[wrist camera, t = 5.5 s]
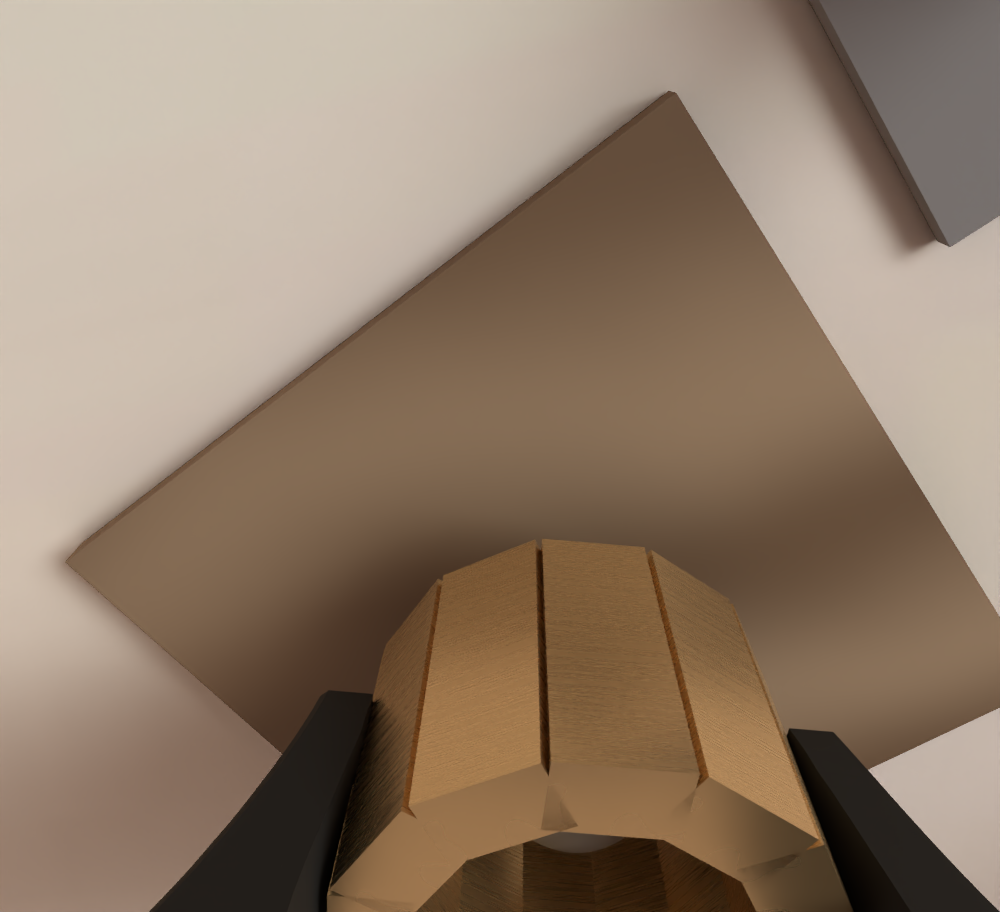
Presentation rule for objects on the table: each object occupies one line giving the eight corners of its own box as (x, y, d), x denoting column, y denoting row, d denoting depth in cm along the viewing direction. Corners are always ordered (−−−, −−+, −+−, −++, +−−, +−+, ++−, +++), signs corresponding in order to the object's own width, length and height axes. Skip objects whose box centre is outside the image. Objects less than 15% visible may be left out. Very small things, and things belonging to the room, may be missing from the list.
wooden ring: (716, 846, 14) (785, 1123, 10) (378, 819, 14) (328, 1088, 10) (797, 559, 12) (921, 791, 8) (387, 526, 11) (325, 743, 8)
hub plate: (1024, 664, 15) (1221, 905, 11) (498, 917, 19) (491, 1179, 14) (668, 90, 11) (756, 115, 7) (81, 543, 15) (-103, 748, 10)
